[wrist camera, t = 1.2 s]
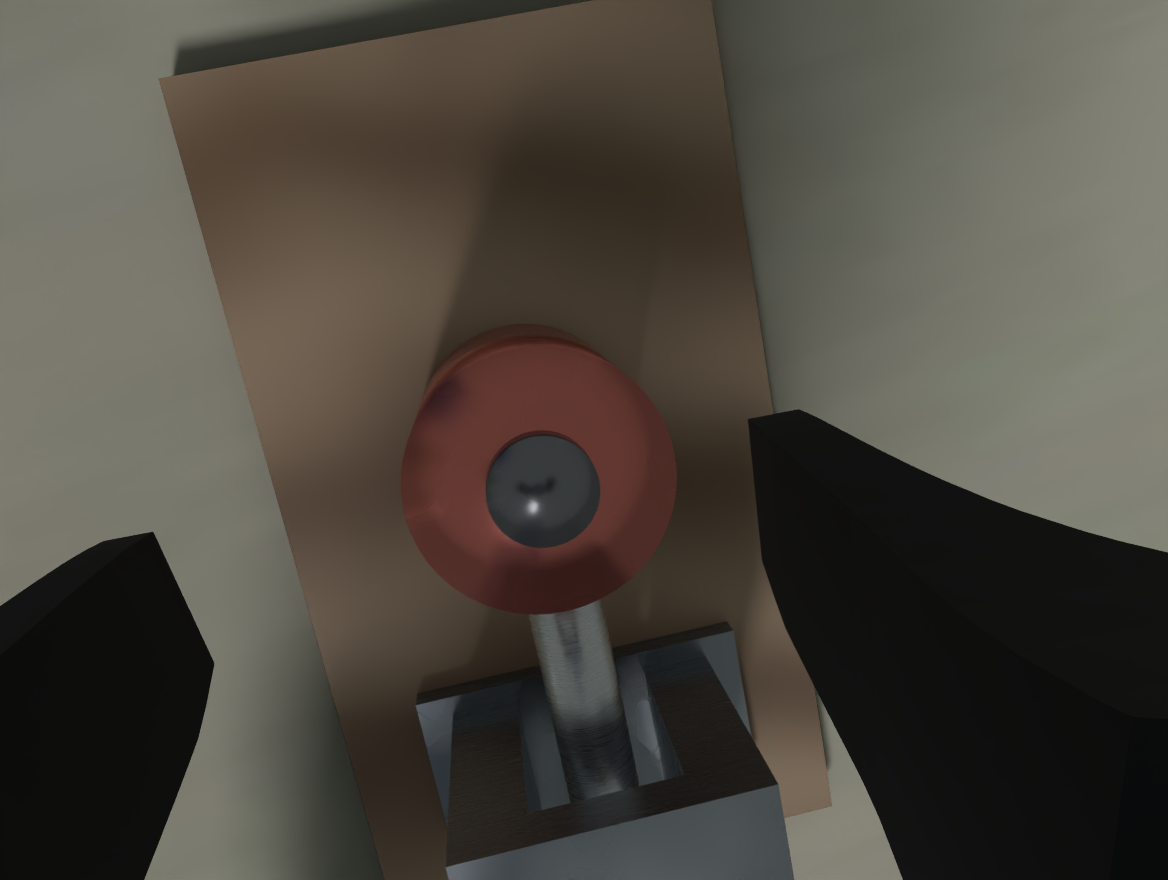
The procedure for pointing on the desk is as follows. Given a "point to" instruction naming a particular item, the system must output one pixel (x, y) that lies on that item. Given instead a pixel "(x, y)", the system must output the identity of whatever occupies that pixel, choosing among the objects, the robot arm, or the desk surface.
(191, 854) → the desk surface
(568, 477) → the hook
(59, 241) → the desk surface
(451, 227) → the board
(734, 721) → the slotted metal block
